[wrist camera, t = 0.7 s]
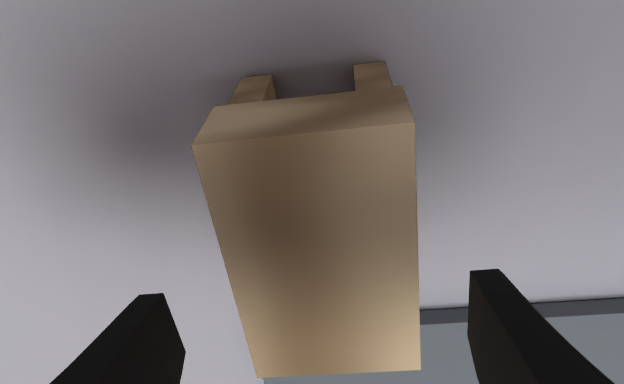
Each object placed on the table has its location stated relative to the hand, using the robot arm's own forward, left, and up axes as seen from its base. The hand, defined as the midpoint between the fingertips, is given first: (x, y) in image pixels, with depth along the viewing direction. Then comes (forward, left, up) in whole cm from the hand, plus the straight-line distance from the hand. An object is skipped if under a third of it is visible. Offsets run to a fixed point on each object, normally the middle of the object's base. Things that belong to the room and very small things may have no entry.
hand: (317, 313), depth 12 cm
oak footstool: (0, 0, -7) cm, 7 cm away
